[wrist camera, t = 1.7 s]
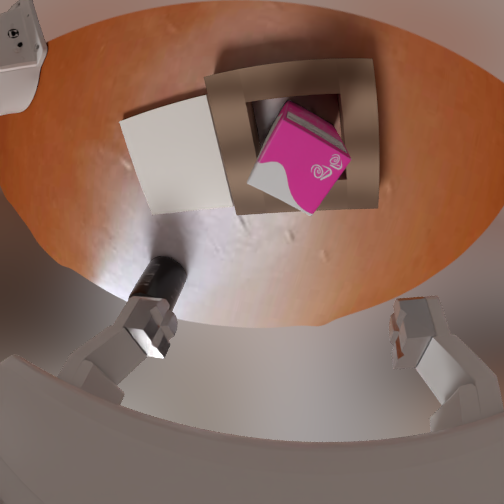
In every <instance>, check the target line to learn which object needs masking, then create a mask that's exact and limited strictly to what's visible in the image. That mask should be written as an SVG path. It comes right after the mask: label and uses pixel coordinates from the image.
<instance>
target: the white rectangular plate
mask: <svg viewBox="0 0 504 504" xmlns="http://www.w3.org/2000/svg"><path fill="white" fill-rule="evenodd" d="M120 125H121V129H122V132H123V135H124V138H125V141H126V144H127V147H128V150H129V153H130V156H131V159H132V162H133V165H134V168H135V171H136V173H137V176H138V179H139V182H140V185H141V187H142V190H143V193H144V195H145V198H146V200H147V203H148V206H149V208H150V211H151V213H152V215H159V214H167V213H176V212H185V211H194V210H204V209H214V208H225V207H233V206H234V202H233V198H232V194H231V189H230V185H229V181H228V177H227V173H226V169H225V165H224V160H223V156H222V152H221V148H220V144H219V140H218V135H217V131H216V127H215V123H214V119H213V114H212V110H211V106H210V102H209V97H208V94H207V95H203V96H199V97H195V98H191V99H187V100H183V101H180V102H176V103H173V104H169V105H166V106H163V107H159V108H156V109H153V110H150V111H147V112H144V113H141V114H138V115H135V116H133V117H130V118H127V119H125V120H122V121H120Z"/></svg>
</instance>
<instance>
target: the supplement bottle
mask: <svg viewBox="0 0 504 504" xmlns="http://www.w3.org/2000/svg"><path fill="white" fill-rule="evenodd" d="M185 282H186V273H185V270H184V269H183V267H182V266H181V265H180V264H179V263H178V262H177V261H175V260H173V259H171V258H169V257H164V256H160V257H156V258H154V259H152V260H151V261H150V263H149V264H148V266H147V267H146V269H145V271H144V272H143V274H142V275H141V277H140V279H139V280H138V282H137V284H136V285H135V287H134V289H133V290H132V292H131V294H130V296H129V299H130V298H131V297H133V296H139V297H150V298H161V299H166V300H167V302H168V303H169V305H170V306H169V310H171V311H173V308H174V306H175V304H176V302H177V300H178V297H179V295H180V293H181V291H182V289H183V287H184V284H185ZM129 299H128V300H129Z"/></svg>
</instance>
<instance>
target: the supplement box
mask: <svg viewBox="0 0 504 504" xmlns="http://www.w3.org/2000/svg"><path fill="white" fill-rule="evenodd" d="M350 161H351V157H350V155H349V153H348V151H347V149H346V147H345V145H344V144H343V142H342V140H341V138H340V136H339V134H338V133H337V131H336V129H335V127H334V126H333V125H332V124H331V123H329V122H327V121H326V120H324V119H322V118H321V117H319V116H317V115H316V114H314V113H312V112H310V111H309V110H307V109H305V108H303V107H301V106H300V105H298V104H296V103H294V102H292V101H290V100H288V101H287V102H286V103H285V105H284V106H283V108H282V110H281V111H280V113H279V115H278V116H277V118H276V120H275V122H274V123H273V125H272V127H271V129H270V131H269V133H268V135H267V137H266V139H265V141H264V144H263V146H262V148H261V151H260V153H259V155H258V158H257V160H256V162H255V164H254V167H253V169H252V171H251V174H250V176H249V178H248V180H247V184H249V185H251V186H253V187H255V188H258V189H260V190H262V191H264V192H266V193H268V194H270V195H272V196H274V197H276V198H278V199H280V200H282V201H284V202H285V203H287V204H289V205H291V206H293V207H295V208H297V209H298V210H300V211H302V212H304V213H306V214H308V215H309V216H312V215H313V213H314V212H315V211H316V209H317V208H318V206H319V205H320V204H321V202H322V201H323V199H324V198H325V197H326V195H327V194H328V192H329V191H330V190H331V188H332V187H333V185H334V184H335V183H336V181H337V180H338V178H339V177H340V175H341V174H342V173H343V171H344V170H345V168H346V167H347V165H348V164H349V163H350Z"/></svg>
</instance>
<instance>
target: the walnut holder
mask: <svg viewBox="0 0 504 504" xmlns="http://www.w3.org/2000/svg"><path fill="white" fill-rule="evenodd" d="M204 80H205V85H206V89H207V93H208V97H209V102H210V106H211V110H212V114H213V119H214V123H215V127H216V131H217V135H218V140H219V144H220V148H221V152H222V156H223V160H224V165H225V169H226V173H227V177H228V181H229V185H230V189H231V194H232V198H233V202H234V206H235V210H236V214H237V215H248V214H262V213H278V212H296V211H300V210H298V209H297V208H295V207H293V206H291V205H289V204H287V203H285V202H284V201H282V200H280V199H278V198H276V197H274V196H272V195H270V194H268V193H266V192H264V191H262V190H260V189H258V188H255V187H253V186H251V185H249V184H247V180H248V178H249V176H250V174H251V171H252V169H253V167H254V164H255V162H256V160H257V158H258V155H259V153H260V151H261V147H260V142H259V137H258V131H257V126H256V121H255V116H254V111H253V106H252V101H258V100H265V99H273V98H282V97H291V96H302V95H316V94H337V96H338V104H339V113H340V124H341V135H342V142H343V144H344V145H345V147H346V149H347V151H348V153H349V155H350V157H351V161H350V163H349V164H348V165H347V167H346V168H345V170H344V171H343V173H342V174H341V175H340V177H339V178H338V180H337V181H336V183H335V184H334V185H333V187H332V188H331V190H330V191H329V192H328V194H327V195H326V197H325V198H324V199H323V201H322V202H321V204H320V205H319V206H318V208H317V209H316V210H341V209H374V208H378V199H379V124H378V107H377V94H376V84H375V75H374V67H373V59H365V58H335V59H313V60H300V61H290V62H281V63H273V64H266V65H259V66H253V67H247V68H242V69H237V70H232V71H227V72H222V73H218V74H214V75H210V76H206V77H204Z"/></svg>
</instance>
